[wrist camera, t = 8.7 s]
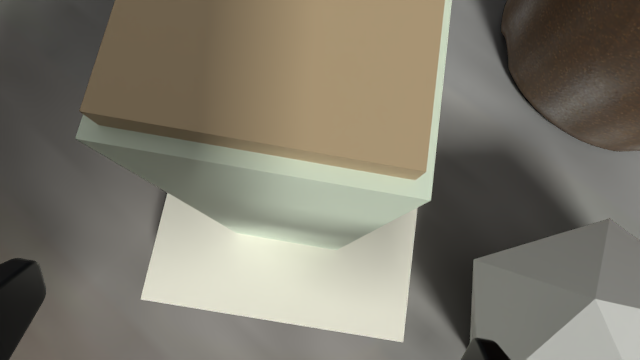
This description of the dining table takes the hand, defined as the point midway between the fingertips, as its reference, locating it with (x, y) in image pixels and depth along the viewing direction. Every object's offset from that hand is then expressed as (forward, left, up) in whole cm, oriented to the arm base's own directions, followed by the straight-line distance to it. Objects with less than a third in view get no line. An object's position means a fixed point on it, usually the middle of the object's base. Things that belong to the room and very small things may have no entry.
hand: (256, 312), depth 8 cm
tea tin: (+4, +1, -7) cm, 8 cm away
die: (+2, -11, -10) cm, 16 cm away
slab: (+4, +1, -10) cm, 11 cm away
